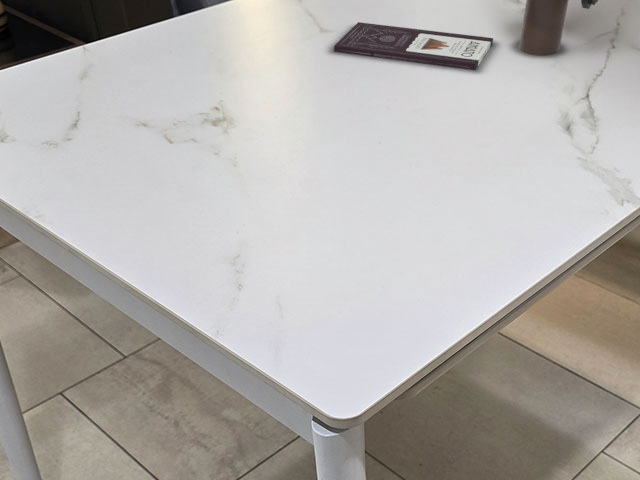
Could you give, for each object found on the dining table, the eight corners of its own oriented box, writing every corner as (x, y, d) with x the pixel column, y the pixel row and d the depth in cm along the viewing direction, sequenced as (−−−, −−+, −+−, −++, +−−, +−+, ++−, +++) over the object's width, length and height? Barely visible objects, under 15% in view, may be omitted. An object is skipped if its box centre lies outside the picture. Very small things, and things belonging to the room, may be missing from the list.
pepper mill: (555, 44, 108) (570, -38, 102) (561, 58, 104) (577, -26, 98) (516, 43, 109) (529, -38, 103) (521, 58, 105) (534, -25, 99)
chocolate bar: (358, 22, 114) (493, 38, 108) (358, 29, 115) (492, 45, 108) (334, 45, 108) (476, 64, 101) (334, 53, 109) (475, 71, 102)
